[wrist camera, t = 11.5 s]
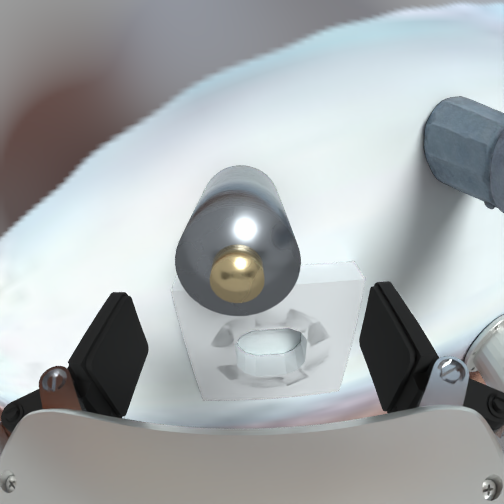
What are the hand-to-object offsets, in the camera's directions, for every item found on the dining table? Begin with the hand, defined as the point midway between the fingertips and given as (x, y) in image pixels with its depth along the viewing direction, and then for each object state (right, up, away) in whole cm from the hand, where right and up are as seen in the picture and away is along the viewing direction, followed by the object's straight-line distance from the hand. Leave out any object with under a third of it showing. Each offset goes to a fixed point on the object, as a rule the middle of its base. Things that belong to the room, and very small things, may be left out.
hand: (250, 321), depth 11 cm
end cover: (-1, +6, +12) cm, 14 cm away
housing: (+2, -6, +18) cm, 19 cm away
